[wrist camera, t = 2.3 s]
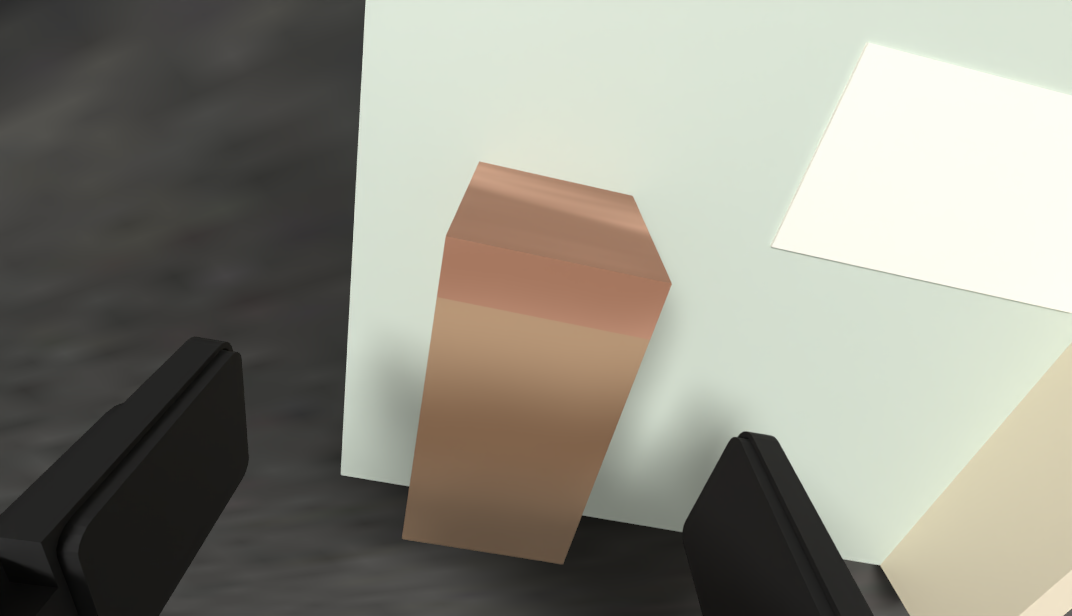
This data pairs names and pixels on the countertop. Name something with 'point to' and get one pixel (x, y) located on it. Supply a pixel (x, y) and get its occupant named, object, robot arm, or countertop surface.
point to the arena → (769, 254)
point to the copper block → (529, 361)
